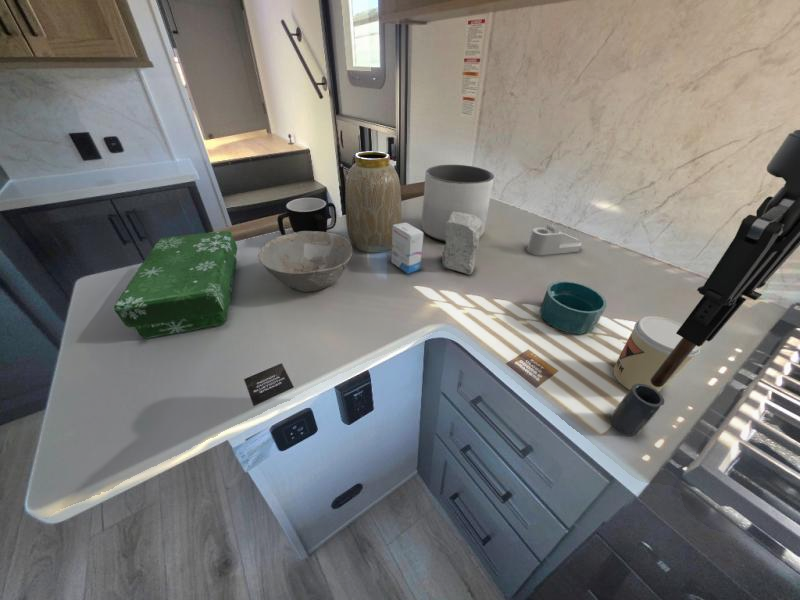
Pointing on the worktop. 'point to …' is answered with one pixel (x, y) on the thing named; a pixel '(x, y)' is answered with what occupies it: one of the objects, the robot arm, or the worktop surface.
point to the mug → (308, 215)
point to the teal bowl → (572, 307)
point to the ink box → (407, 247)
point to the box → (181, 285)
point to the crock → (636, 409)
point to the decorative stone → (461, 242)
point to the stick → (672, 362)
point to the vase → (372, 201)
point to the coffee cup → (649, 351)
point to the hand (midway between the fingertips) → (693, 336)
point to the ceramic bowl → (307, 259)
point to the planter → (454, 196)
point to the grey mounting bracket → (551, 241)
